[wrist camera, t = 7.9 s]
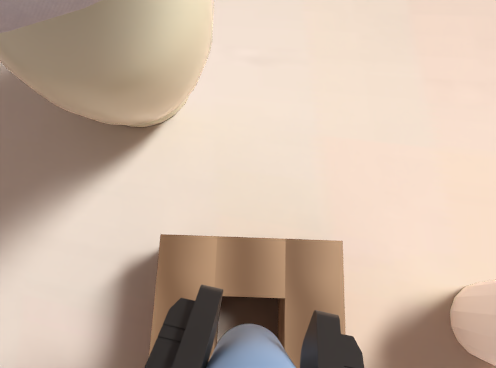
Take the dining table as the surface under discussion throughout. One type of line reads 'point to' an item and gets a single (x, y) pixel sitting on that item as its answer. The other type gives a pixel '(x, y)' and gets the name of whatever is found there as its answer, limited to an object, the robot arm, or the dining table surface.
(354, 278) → the dining table surface
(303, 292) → the hole block
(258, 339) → the peg
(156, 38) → the lamp
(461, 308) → the white cup
